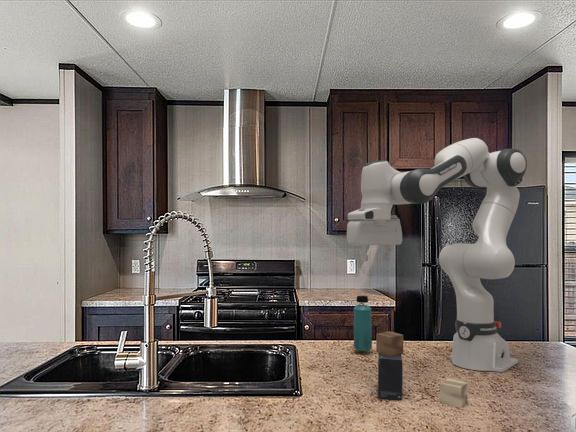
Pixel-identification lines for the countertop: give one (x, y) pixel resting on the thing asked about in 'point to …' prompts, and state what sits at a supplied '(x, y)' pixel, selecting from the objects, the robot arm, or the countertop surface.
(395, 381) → the small box
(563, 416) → the countertop surface
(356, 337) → the beverage bottle
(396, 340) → the walnut cube
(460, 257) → the robot arm
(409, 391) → the countertop surface
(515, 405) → the countertop surface
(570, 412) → the countertop surface
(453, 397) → the maple cube
